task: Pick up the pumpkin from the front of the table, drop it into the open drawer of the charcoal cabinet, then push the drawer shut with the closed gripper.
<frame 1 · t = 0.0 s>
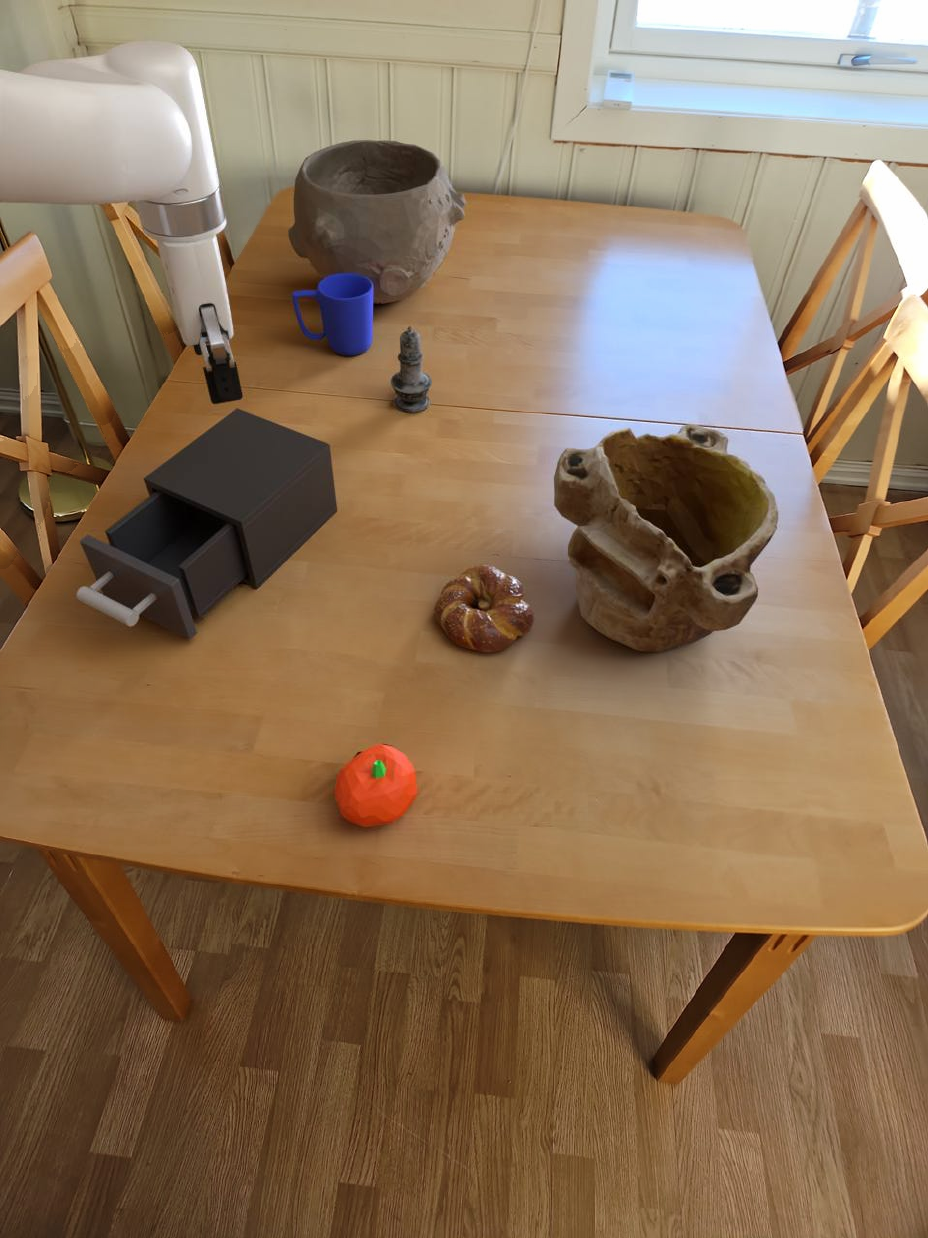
hand: (218, 375, 87), 20 cm above the table, tool pointing down, fingers open, 9 cm apart
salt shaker: (411, 403, 119), on the table
mug: (338, 348, 129), on the table
bowl: (380, 289, 142), on the table
pumpkin: (377, 802, 77), on the table
cabinet: (254, 528, 101), on the table
ceramic vessel: (653, 620, 93), on the table
drawer: (169, 562, 89), point 5 cm above the table, slide at 9.0 cm
pretzel: (482, 617, 92), on the table
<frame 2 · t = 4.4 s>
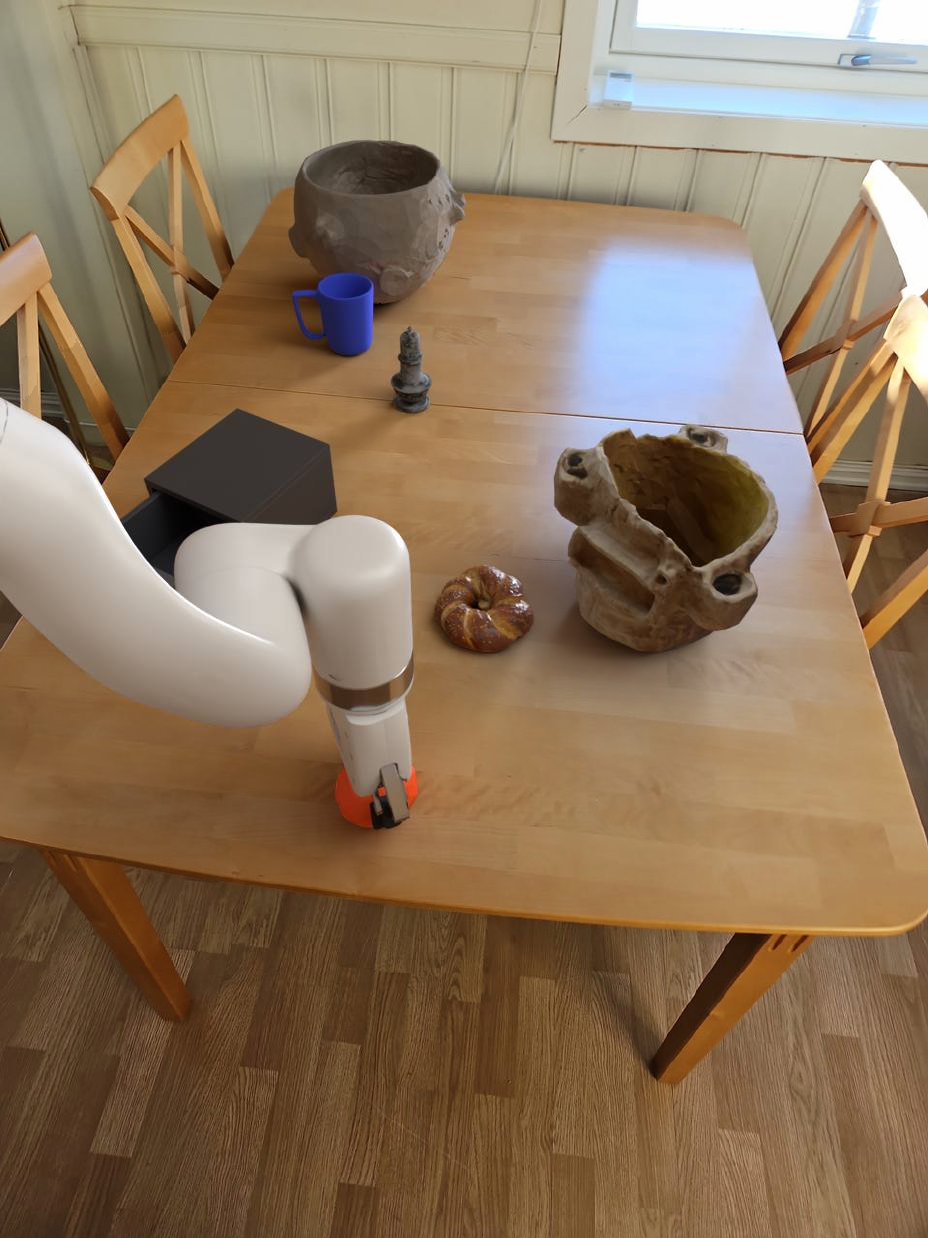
hand: (376, 783, 74), 3 cm above the table, tool pointing down, fingers closed on pumpkin, 7 cm apart
pumpkin: (378, 802, 77), on the table, touching gripper
everything else where it was.
when the fingers open (10 cm above the table, at t = 12.5 s): pumpkin drops 4 cm, resting on drawer.
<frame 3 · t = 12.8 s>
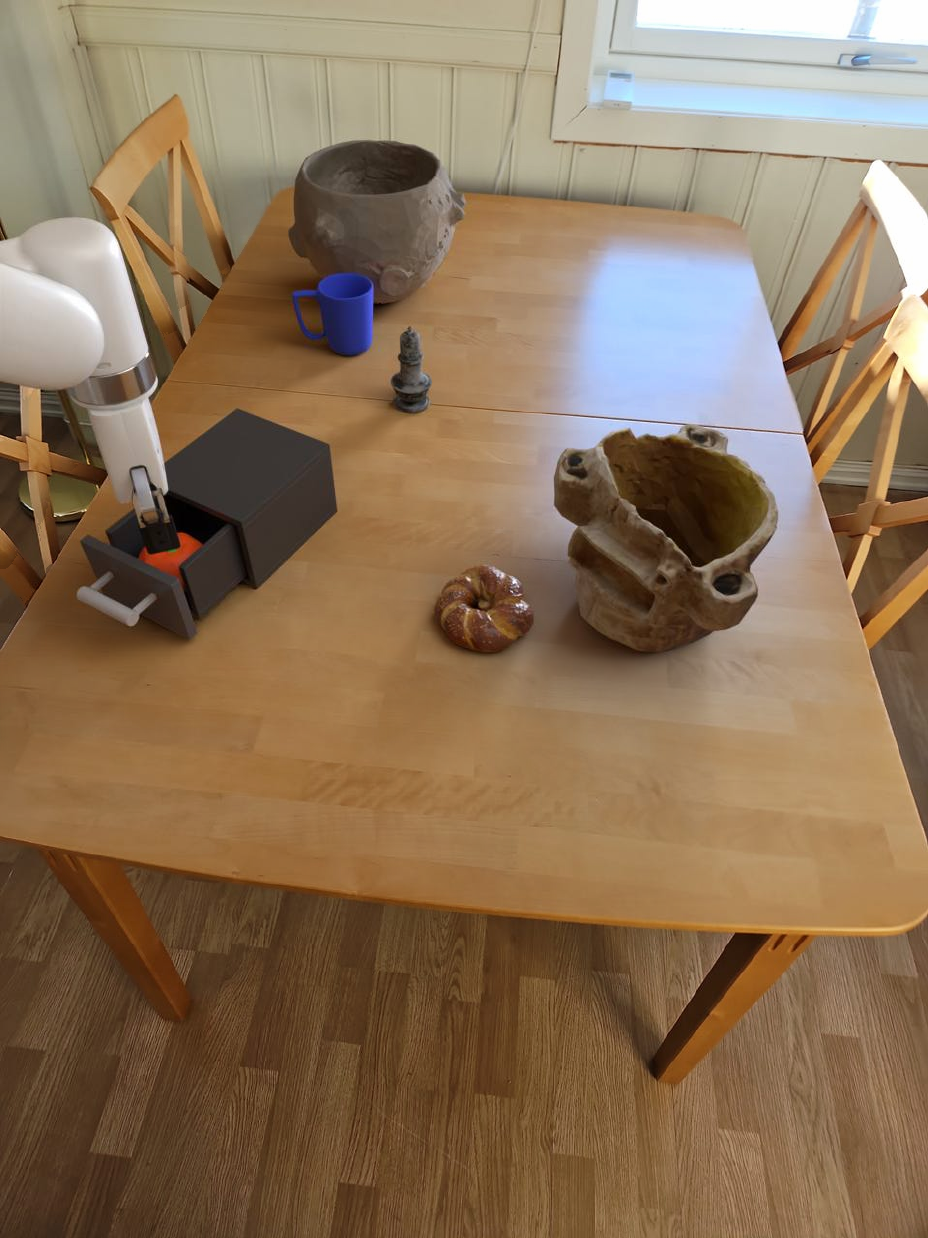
hand: (157, 519, 85), 11 cm above the table, tool pointing down, fingers open, 9 cm apart
pumpkin: (178, 583, 91), point 2 cm above the table, touching drawer
drawer: (169, 561, 89), point 5 cm above the table, slide at 9.0 cm, touching pumpkin
everything else where it was.
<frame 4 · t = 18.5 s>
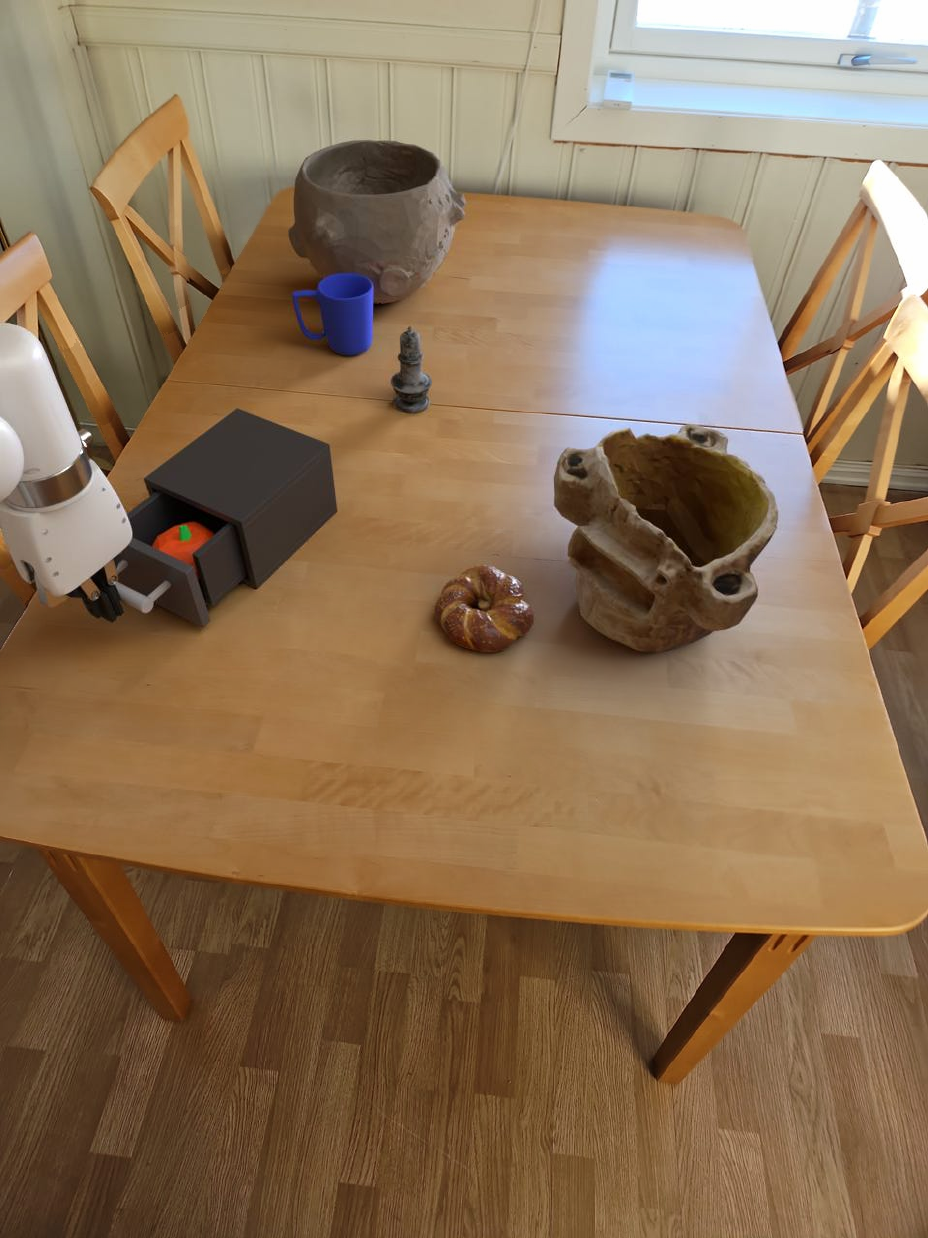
hand: (108, 612, 84), 5 cm above the table, tool pointing down, fingers closed
pumpkin: (191, 572, 93), point 2 cm above the table, touching drawer
drawer: (183, 550, 91), point 5 cm above the table, slide at 6.9 cm, touching gripper, pumpkin
everything else where it was.
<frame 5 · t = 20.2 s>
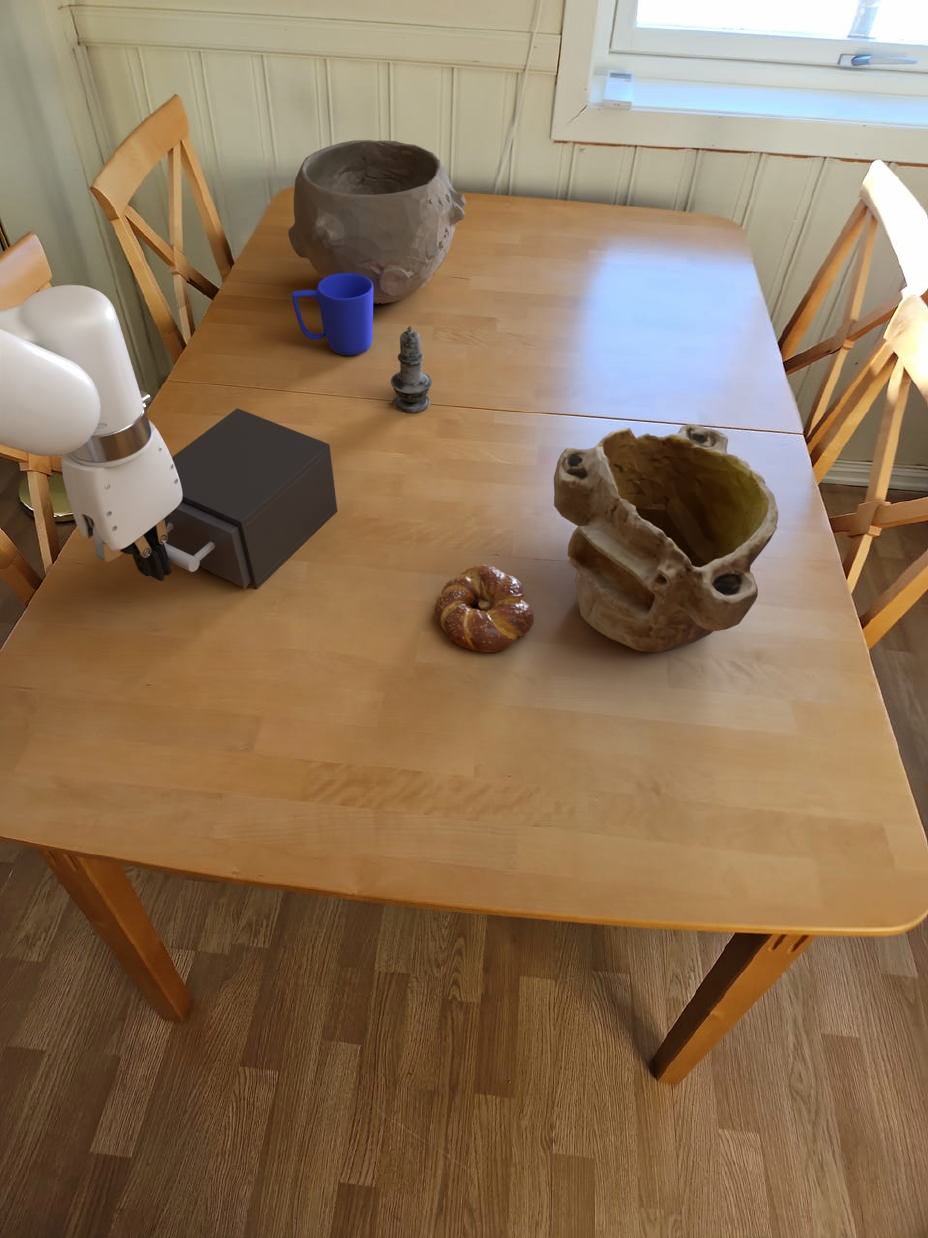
hand: (156, 572, 88), 5 cm above the table, tool pointing down, fingers closed
pumpkin: (231, 536, 97), point 2 cm above the table, touching drawer
drawer: (224, 514, 95), point 5 cm above the table, slide at 0.0 cm, touching cabinet, gripper, pumpkin
everything else where it was.
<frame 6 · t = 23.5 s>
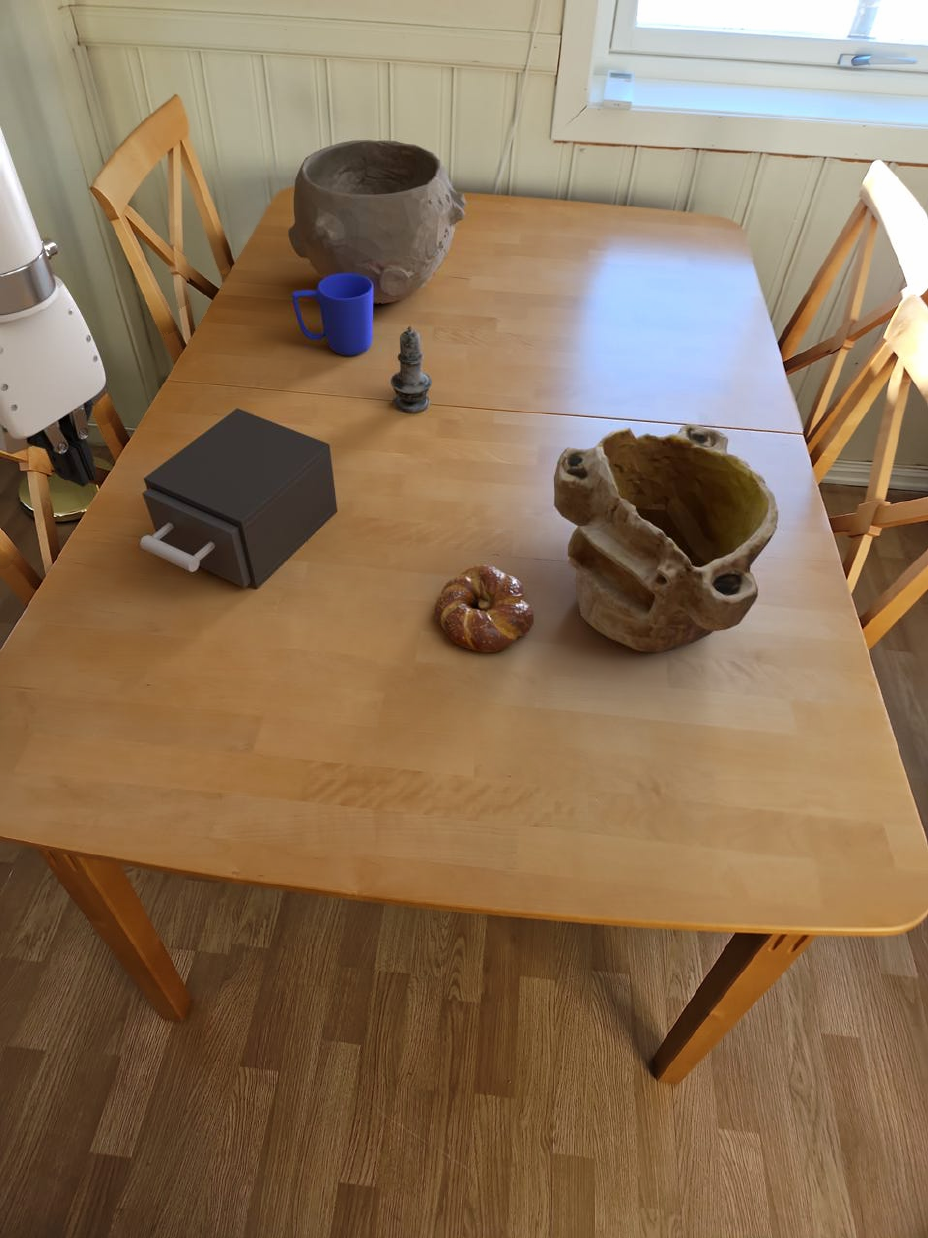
hand: (79, 476, 74), 21 cm above the table, tool pointing down, fingers closed
drawer: (224, 514, 95), point 5 cm above the table, slide at 0.0 cm, touching cabinet, pumpkin
everything else where it was.
at the end: pumpkin inside the target area in the cabinet (4.1 cm from its centre), point 2.0 cm above the cabinet's base; drawer slide at 0.0 cm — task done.
